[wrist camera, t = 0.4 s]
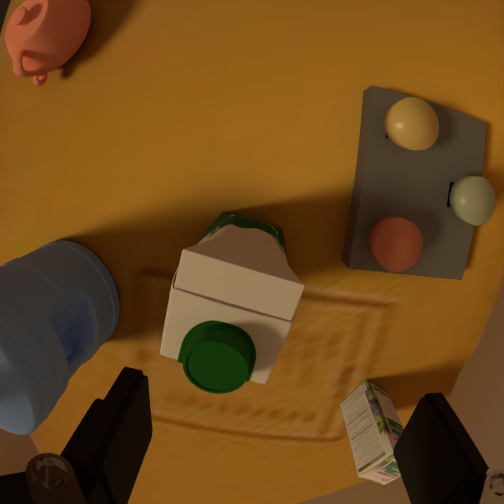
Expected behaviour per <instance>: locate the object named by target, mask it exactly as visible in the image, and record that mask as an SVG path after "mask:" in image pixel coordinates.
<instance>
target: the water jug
mask: <svg viewBox="0 0 504 504" xmlns="http://www.w3.org/2000/svg"><path fill="white" fill-rule="evenodd" d="M119 312H120V305H119V297H118V292H117V289H116V286H115V283H114V281H113V278H112V276H111V275H110V273H109V271H108V270H107V268H106V267H105V265H104V264H103V263H102V261H101V260H100V259H99V258H98V257H97V256H96V255H95V254H94V253H92V252H91V251H90V250H88V249H87V248H85V247H84V246H82V245H80V244H77V243H75V242H71V241H64V240H60V241H54V242H50V243H48V244H46V245H43V246H41V247H40V248H38V249H37V250H35V251H33V252H31V253H29V254H27V255H25V256H22V257H20V258H16V259H13V260H11V261H9V262H7V263H5V264H3V265H2V266H0V428H2V429H4V430H6V431H8V432H11V433H15V434H20V435H24V434H29V433H32V432H33V431H35V430H36V429H37V428H38V426H39V425H40V424H41V423H42V422H43V421H44V420H45V419H46V418H47V417H48V415H49V414H50V413H51V411H52V410H53V408H54V407H55V405H56V403H57V401H58V400H59V398H60V397H61V396H62V394H63V393H64V392H65V390H66V388H67V385H68V380H69V379H70V378H71V377H72V375H73V374H74V373H75V372H76V370H77V369H78V368H79V367H80V366H81V365H82V364H84V363H86V362H87V361H89V360H90V359H91V357H92V356H93V355H94V354H95V353H96V351H97V350H98V349H99V348H100V346H101V345H103V344H104V343H105V342H106V341H107V340H108V338H109V337H110V336H111V335H112V333H113V332H114V330H115V328H116V326H117V323H118V319H119Z"/></svg>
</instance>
